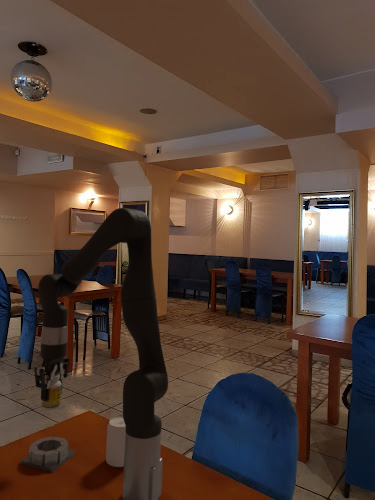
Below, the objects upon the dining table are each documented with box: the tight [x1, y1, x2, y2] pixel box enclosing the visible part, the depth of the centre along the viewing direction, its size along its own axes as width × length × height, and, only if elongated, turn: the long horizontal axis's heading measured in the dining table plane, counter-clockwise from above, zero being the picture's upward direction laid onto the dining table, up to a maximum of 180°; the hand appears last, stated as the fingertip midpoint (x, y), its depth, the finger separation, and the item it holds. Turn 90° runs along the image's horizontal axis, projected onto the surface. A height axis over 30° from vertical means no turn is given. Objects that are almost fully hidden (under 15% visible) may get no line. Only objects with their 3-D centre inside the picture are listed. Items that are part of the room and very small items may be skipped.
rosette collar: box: [20, 436, 76, 473], centre depth 119 cm, size 11×11×4 cm
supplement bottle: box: [41, 374, 62, 411], centre depth 119 cm, size 5×5×10 cm
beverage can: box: [105, 416, 126, 468], centre depth 119 cm, size 8×8×12 cm
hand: (51, 396), depth 119 cm, fingers closed on supplement bottle, 5 cm apart
